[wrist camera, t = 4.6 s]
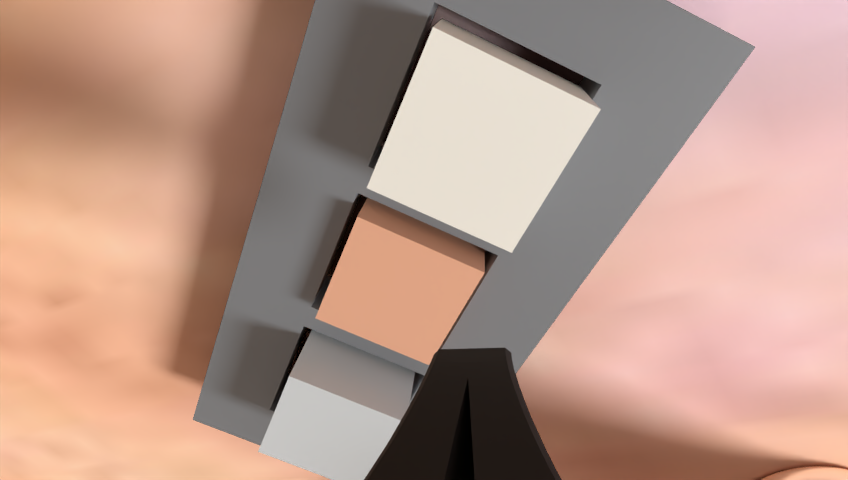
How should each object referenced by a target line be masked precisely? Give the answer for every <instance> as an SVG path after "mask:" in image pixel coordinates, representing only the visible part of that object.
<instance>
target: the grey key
mask: <svg viewBox="0 0 848 480" xmlns="http://www.w3.org/2000/svg"><path fill="white" fill-rule="evenodd" d="M414 376H415V372H414V371H412V370H410V369H407V368H405V367H402V366H400V365H397V364H395V363H392V362H390V361H388V360H385V359H383V358H380V357H378V356H375V355H373V354H371V353H368V352H366V351H363V350H361V349H358V348H356V347H353V346H351V345H349V344H346V343H344V342H341V341H339V340H336V339H334V338H332V337H329V336H327V335H324V334H322V333H319V332H317V331H314V330H312V331H311V333H310V335H309V337H308V339H307V341H306V343H305V345H304V347H303V349H302V351H301V353H300V355H299V357H298V359H297V361H296V363H295V365H294V367H293V369H292V371H291V373H290V375H289V378H288V380H287V383H286V385H285V387H284V390H283V392H282V395H281V397H280V400H279V402H278V404H277V407H276V409H275V412H274V414H273V417H272V419H271V421H270V424H269V426H268V429H267V431H266V434H265V436H264V438H263V441H262V443H261V446H260V448H259V451H258V452H260V453H263V454H266V455H268V456H271V457H274V458H276V459H279V460H282V461H284V462H287V463H289V464H292V465H295V466H297V467H300V468H303V469H305V470H308V471H311V472H313V473H316V474H319V475H321V476H324V477H326V478H329V479H332V480H364V479H365V477H366V476H367V474H368V473H369V471H370V470H371V468H372V467H373V465H374V464H375V462H376V461H377V459H378V457H379V456H380V454H381V453H382V451H383V450H384V448H385V447H386V445H387V443H388V442H389V440H390V438H391V437H392V435H393V433H394V431H395V430H396V428H397V426H398V425H399V423H400V421H401V419H402V418H403V416H404V414H405V412H406V411H407V409H408V407H409V404H410V399H411V393H412V387H413V381H414Z"/></svg>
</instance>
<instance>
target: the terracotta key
mask: <svg viewBox="0 0 848 480" xmlns="http://www.w3.org/2000/svg"><path fill="white" fill-rule="evenodd" d="M484 273H485V249H482V248H480V247H478V246H476V245H473V244H471V243H469V242H467V241H464V240H462V239H460V238H458V237H455V236H453V235H451V234H449V233H446V232H444V231H442V230H440V229H437V228H435V227H433V226H431V225H428V224H426V223H424V222H422V221H419V220H417V219H415V218H413V217H410V216H408V215H406V214H404V213H401V212H399V211H397V210H395V209H392V208H390V207H388V206H386V205H383V204H381V203H379V202H377V201H374V200H372V199H370V198H367V199H366V201H365V203H364V205H363V207H362V209H361V211H360V212H359V214H358V216H357V219H356V221H355V223H354V226H353V228H352V231H351V233H350V235H349V238H348V240H347V243H346V245H345V247H344V250H343V252H342V255H341V257H340V260H339V262H338V264H337V267H336V269H335V272H334V274H333V276H332V279H331V281H330V284H329V286H328V288H327V291H326V293H325V296H324V298H323V301H322V303H321V305H320V308H319V310H318V313H317V315H316V317H315V318H316V319H318V320H321V321H323V322H325V323H328V324H330V325H333V326H335V327H338V328H340V329H342V330H345V331H347V332H350V333H352V334H355V335H357V336H359V337H362V338H364V339H367V340H369V341H372V342H374V343H376V344H379V345H381V346H384V347H386V348H388V349H391V350H393V351H396V352H398V353H401V354H403V355H405V356H408V357H410V358H413V359H415V360H418V361H420V362H422V363H425V364H427V365H429V364H430V363H431V360H432V358H433V355H434V354H435V353H436V352H437V351H438V349H439V348H440V346H441V344H442V343H443V341H444V339H445V338H446V336H447V334H448V333H449V331H450V329H451V328H452V326H453V324H454V323H455V321H456V319H457V318H458V316H459V314H460V313H461V311H462V309H463V308H464V306H465V305H466V303H467V301H468V300H469V298H470V296H471V295H472V293H473V291H474V290H475V288H476V286H477V285H478V283H479V281H480V280H481V278H482V276H483V275H484Z"/></svg>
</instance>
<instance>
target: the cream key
mask: <svg viewBox="0 0 848 480" xmlns="http://www.w3.org/2000/svg"><path fill="white" fill-rule="evenodd" d="M600 110H601V109H600V108H599V106H598V105H597V104H596V103H595V102H594V101H593V100H592V99H591V98H590V97H589V95H588V94H587V93H586V92H585V91H584V90H583V89H582V88H581V87H580V86H578V85H576V84H574V83H572V82H570V81H568V80H566V79H564V78H561V77H559V76H557V75H555V74H553V73H551V72H549V71H547V70H545V69H543V68H541V67H539V66H537V65H535V64H533V63H531V62H529V61H527V60H525V59H523V58H521V57H519V56H517V55H515V54H513V53H511V52H509V51H507V50H505V49H503V48H501V47H499V46H497V45H495V44H492V43H490V42H488V41H486V40H484V39H482V38H480V37H478V36H476V35H474V34H472V33H470V32H468V31H466V30H464V29H462V28H460V27H458V26H456V25H454V24H452V23H450V22H448V21H446V20H444V19H441V20H440V21H439V22H438V23H437V24H436V25H434V26H433V28H432V30H431V33H430V35H429V38H428V40H427V43H426V45H425V47H424V50H423V52H422V55H421V57H420V60H419V62H418V64H417V67H416V69H415V72H414V74H413V77H412V79H411V81H410V84H409V86H408V89H407V91H406V94H405V96H404V98H403V101H402V103H401V106H400V108H399V111H398V113H397V115H396V118H395V120H394V123H393V125H392V128H391V130H390V132H389V135H388V137H387V140H386V142H385V145H384V147H383V149H382V152H381V154H380V157H379V159H378V162H377V164H376V166H375V169H374V171H373V174H372V176H371V179H370V181H369V183H368V186H367V188H368V189H370V190H372V191H374V192H376V193H379V194H381V195H383V196H385V197H388V198H390V199H392V200H394V201H397V202H399V203H401V204H403V205H406V206H408V207H410V208H412V209H415V210H417V211H419V212H421V213H423V214H426V215H428V216H430V217H432V218H435V219H437V220H439V221H441V222H444V223H446V224H448V225H450V226H453V227H455V228H457V229H459V230H462V231H464V232H466V233H468V234H470V235H473V236H475V237H477V238H479V239H482V240H484V241H486V242H488V243H491V244H493V245H495V246H497V247H500V248H502V249H504V250H506V251H509V252H511V253H512V252H513V250H514V248H515V247H516V245H517V244H518V242H519V240H520V239H521V237H522V236H523V234H524V232H525V231H526V229H527V227H528V226H529V224H530V223H531V221H532V219H533V218H534V216H535V215H536V213H537V211H538V210H539V208H540V207H541V205H542V203H543V202H544V200H545V198H546V197H547V195H548V194H549V192H550V190H551V189H552V187H553V186H554V184H555V182H556V181H557V179H558V178H559V176H560V174H561V173H562V171H563V170H564V168H565V166H566V165H567V163H568V161H569V160H570V158H571V157H572V155H573V153H574V152H575V150H576V149H577V147H578V145H579V144H580V142H581V141H582V139H583V137H584V136H585V134H586V132H587V131H588V129H589V128H590V126H591V124H592V123H593V121H594V120H595V118H596V116H597V115H598V113H599V112H600Z"/></svg>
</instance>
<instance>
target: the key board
mask: <svg viewBox="0 0 848 480" xmlns="http://www.w3.org/2000/svg"><path fill="white" fill-rule="evenodd" d="M438 5H441V6H443V7H445V8H447V9H449V10H451V11H453V12H455V13H457V14H460V15H462V16H464V17H466V18H468V19H470V20H472V21H474V22H476V23H478V24H480V25H482V26H484V27H486V28H488V29H490V30H492V31H494V32H496V33H498V34H500V35H502V36H504V37H506V38H508V39H510V40H512V41H514V42H516V43H518V44H520V45H522V46H524V47H526V48H528V49H530V50H532V51H534V52H536V53H538V54H540V55H542V56H544V57H546V58H548V59H550V60H552V61H554V62H556V63H558V64H560V65H562V66H564V67H566V68H568V69H570V70H573V71H575V72H577V73H579V74H581V75H583V76H584V77H583V79H582V81H581V83H580V84H579V86H580V87H581V88H582V89H583V90H584V91H585V92H586V93H587V94H588V95H589V97H590V98H591V99H592V100H593V101H594V102H595V103H596V104H597V105H598V106H599V108H600V109H601V110H600V112H599V113H598V115H597V116H596V118H595V120H594V121H593V123H592V124H591V126H590V128H589V129H588V131H587V132H586V134H585V136H584V137H583V139H582V141H581V142H580V144H579V145H578V147H577V149H576V150H575V152H574V153H573V155H572V157H571V158H570V160H569V161H568V163H567V165H566V166H565V168H564V170H563V171H562V173H561V174H560V176H559V178H558V179H557V181H556V182H555V184H554V186H553V187H552V189H551V190H550V192H549V194H548V195H547V197H546V198H545V200H544V202H543V203H542V205H541V207H540V208H539V210H538V211H537V213H536V215H535V216H534V218H533V219H532V221H531V223H530V224H529V226H528V227H527V229H526V231H525V232H524V234H523V236H522V237H521V239H520V240H519V242H518V244H517V245H516V247H515V248H514V250H513V252H512V253H511V252H509V251H506V250H504V249H502V248H500V247H497V246H495V245H493V244H491V243H488V242H486V241H484V240H482V239H479V238H477V237H475V236H473V235H470V234H468V233H466V232H464V231H462V230H459V229H457V228H455V227H453V226H450V225H448V224H446V223H444V222H441V221H439V220H437V219H435V218H432V217H430V216H428V215H426V214H423V213H421V212H419V211H417V210H415V209H412V208H410V207H408V206H406V205H403V204H401V203H399V202H397V201H394V200H392V199H390V198H388V197H385V196H383V195H381V194H379V193H376V192H374V191H372V190H370V189H368V188H367V186H368V183H369V181H370V179H371V176H372V174H373V171H374V169H375V166H376V164H377V162H378V159H379V157H380V154H381V152H382V149H383V146H381V144H382V142H383V139H384V137H385V134H386V132H387V130H388V127H389V125H390V122H391V120H392V117H393V115H394V112H395V110H396V107H397V105H398V103H399V100H400V98H401V95H402V93H403V90H404V88H405V85H406V83H407V81H408V78H409V76H410V73H411V71H412V68H413V66H414V63H415V61H416V58H417V56H418V54H419V51H420V49H421V46H422V44H423V41H424V39H425V36H426V34H427V32H428V29H429V27H430V24H431V22H432V19H433V17H434V14H435V12H436V10H437V7H438ZM754 48H755V46H753V45H751V44H749V43H747V42H745V41H743V40H741V39H739V38H737V37H735V36H734V35H732V34H730V33H728V32H726V31H724V30H722V29H720V28H718V27H716V26H714V25H713V24H711V23H709V22H707V21H705V20H703V19H701V18H699V17H697V16H695V15H693V14H692V13H690V12H688V11H686V10H684V9H682V8H680V7H678V6H676V5H674V4H672V3H671V2H669V1H667V0H315V3H314V6H313V10H312V13H311V17H310V20H309V23H308V27H307V30H306V34H305V37H304V41H303V44H302V47H301V51H300V54H299V58H298V61H297V65H296V68H295V71H294V75H293V78H292V82H291V85H290V89H289V92H288V95H287V99H286V102H285V106H284V109H283V113H282V116H281V119H280V123H279V126H278V130H277V133H276V136H275V140H274V143H273V147H272V150H271V154H270V157H269V160H268V164H267V167H266V171H265V174H264V178H263V181H262V184H261V188H260V191H259V195H258V198H257V202H256V205H255V208H254V212H253V215H252V219H251V222H250V226H249V229H248V232H247V236H246V239H245V243H244V246H243V250H242V253H241V256H240V260H239V263H238V267H237V270H236V273H235V277H234V280H233V284H232V287H231V291H230V294H229V297H228V301H227V304H226V308H225V311H224V315H223V318H222V321H221V325H220V328H219V332H218V335H217V339H216V342H215V345H214V349H213V352H212V356H211V359H210V363H209V366H208V369H207V373H206V376H205V380H204V383H203V386H202V390H201V393H200V397H199V400H198V404H197V407H196V410H195V414H194V417H193V420H195V421H197V422H200V423H203V424H205V425H208V426H211V427H213V428H216V429H218V430H221V431H224V432H226V433H229V434H232V435H234V436H237V437H239V438H242V439H245V440H247V441H250V442H253V443H255V444H258V445H261V443H262V441H263V438H264V436H265V434H266V431H267V429H268V426H269V424H270V421H271V419H272V417H273V414H274V412H275V409H276V407H277V404H278V402H279V400H280V397H281V395H282V392H283V390H284V387H285V385H286V383H287V380H288V378H289V375H290V374H288V372H289V369H290V367H291V365H292V362H293V360H294V357H295V355H296V352H297V350H298V347H299V345H300V343H301V340H302V338H303V335H304V333H305V330H306V328H310V329H312V330H314V331H317V332H319V333H322V334H324V335H327V336H329V337H332V338H334V339H336V340H339V341H341V342H344V343H346V344H349V345H351V346H353V347H356V348H358V349H361V350H363V351H366V352H368V353H371V354H373V355H375V356H378V357H380V358H383V359H385V360H388V361H390V362H392V363H395V364H397V365H400V366H402V367H405V368H407V369H410V370H412V371H414V372H415V376H414V381H413V387H412V393H411V399H410V403H411V402H412V400H413V398H414V396H415V394H416V392H417V390H418V388H419V386H420V384H421V382H422V380H423V378H424V376H425V374H426V372H427V369H428V367H429V365H430V364H429V365H427V364H425V363H422V362H420V361H418V360H415V359H413V358H410V357H408V356H405V355H403V354H401V353H398V352H396V351H393V350H391V349H388V348H386V347H384V346H381V345H379V344H376V343H374V342H372V341H369V340H367V339H364V338H362V337H359V336H357V335H355V334H352V333H350V332H347V331H345V330H342V329H340V328H338V327H335V326H333V325H330V324H328V323H325V322H323V321H321V320H318V319H316V318H315V317H316V315H317V313H318V310H319V308H320V305H321V303H322V301H323V298H324V296H325V293H326V291H327V288H328V286H329V284H330V281H331V279H332V277H330V276H328V274H329V272H330V269H331V267H332V264H333V262H334V259H335V257H336V254H337V252H338V249H339V247H340V245H341V242H342V240H343V237H344V235H345V232H346V230H347V227H348V225H349V223H350V220H351V218H352V215H353V213H354V210H355V208H356V205H357V203H358V201H359V198H360V196H361V195H363V196H365V197H368V198H370V199H372V200H374V201H377V202H379V203H381V204H383V205H386V206H388V207H390V208H392V209H395V210H397V211H399V212H401V213H404V214H406V215H408V216H410V217H413V218H415V219H417V220H419V221H422V222H424V223H426V224H428V225H431V226H433V227H435V228H437V229H440V230H442V231H444V232H446V233H449V234H451V235H453V236H455V237H458V238H460V239H462V240H464V241H467V242H469V243H471V244H473V245H476V246H478V247H480V248H482V249H485V273H484V275H483V276H482V278H481V280H480V281H479V283H478V285H477V286H476V288H475V290H474V291H473V293H472V295H471V296H470V298H469V300H468V301H467V303H466V305H465V306H464V308H463V309H462V311H461V313H460V314H459V316H458V318H457V319H456V321H455V323H454V324H453V326H452V328H451V329H450V331H449V333H448V334H447V336H446V338H445V339H444V341H443V343H442V344H441V346H440V348H439V349H468V348H506V349H507V350H509V351H510V352H511V355H512V362H513V366H514V371H515V374H516V373H517V371H518V370H519V368H520V367H521V366H522V364H523V363H524V362H525V360H526V359H527V358H528V356H529V355H530V353H531V352H532V351H533V349H534V348H535V347H536V345H537V344H538V343H539V341H540V340H541V338H542V337H543V336H544V334H545V333H546V332H547V330H548V329H549V328H550V326H551V325H552V323H553V322H554V321H555V319H556V318H557V317H558V315H559V314H560V313H561V311H562V310H563V308H564V307H565V306H566V304H567V303H568V302H569V300H570V299H571V298H572V296H573V295H574V293H575V292H576V291H577V289H578V288H579V287H580V285H581V284H582V283H583V281H584V280H585V278H586V277H587V276H588V274H589V273H590V272H591V270H592V269H593V268H594V266H595V265H596V263H597V262H598V261H599V259H600V258H601V257H602V255H603V254H604V253H605V251H606V250H607V248H608V247H609V246H610V244H611V243H612V242H613V240H614V239H615V238H616V236H617V235H618V234H619V232H620V231H621V229H622V228H623V227H624V225H625V224H626V223H627V221H628V220H629V219H630V217H631V216H632V214H633V213H634V212H635V210H636V209H637V208H638V206H639V205H640V204H641V202H642V201H643V199H644V198H645V197H646V195H647V194H648V193H649V191H650V190H651V189H652V187H653V186H654V184H655V183H656V182H657V180H658V179H659V178H660V176H661V175H662V174H663V172H664V171H665V169H666V168H667V167H668V165H669V164H670V163H671V161H672V160H673V159H674V157H675V156H676V154H677V153H678V152H679V150H680V149H681V148H682V146H683V145H684V144H685V142H686V141H687V139H688V138H689V137H690V135H691V134H692V133H693V131H694V130H695V129H696V127H697V126H698V124H699V123H700V122H701V120H702V119H703V118H704V116H705V115H706V114H707V112H708V111H709V109H710V108H711V107H712V105H713V104H714V103H715V101H716V100H717V99H718V97H719V96H720V94H721V93H722V92H723V90H724V89H725V88H726V86H727V85H728V84H729V82H730V81H731V79H732V78H733V77H734V75H735V74H736V73H737V71H738V70H739V69H740V67H741V66H742V64H743V63H744V62H745V60H746V59H747V58H748V56H749V55H750V54H751V52H752V51H753V49H754ZM439 349H438V350H439ZM409 405H410V404H409Z"/></svg>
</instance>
